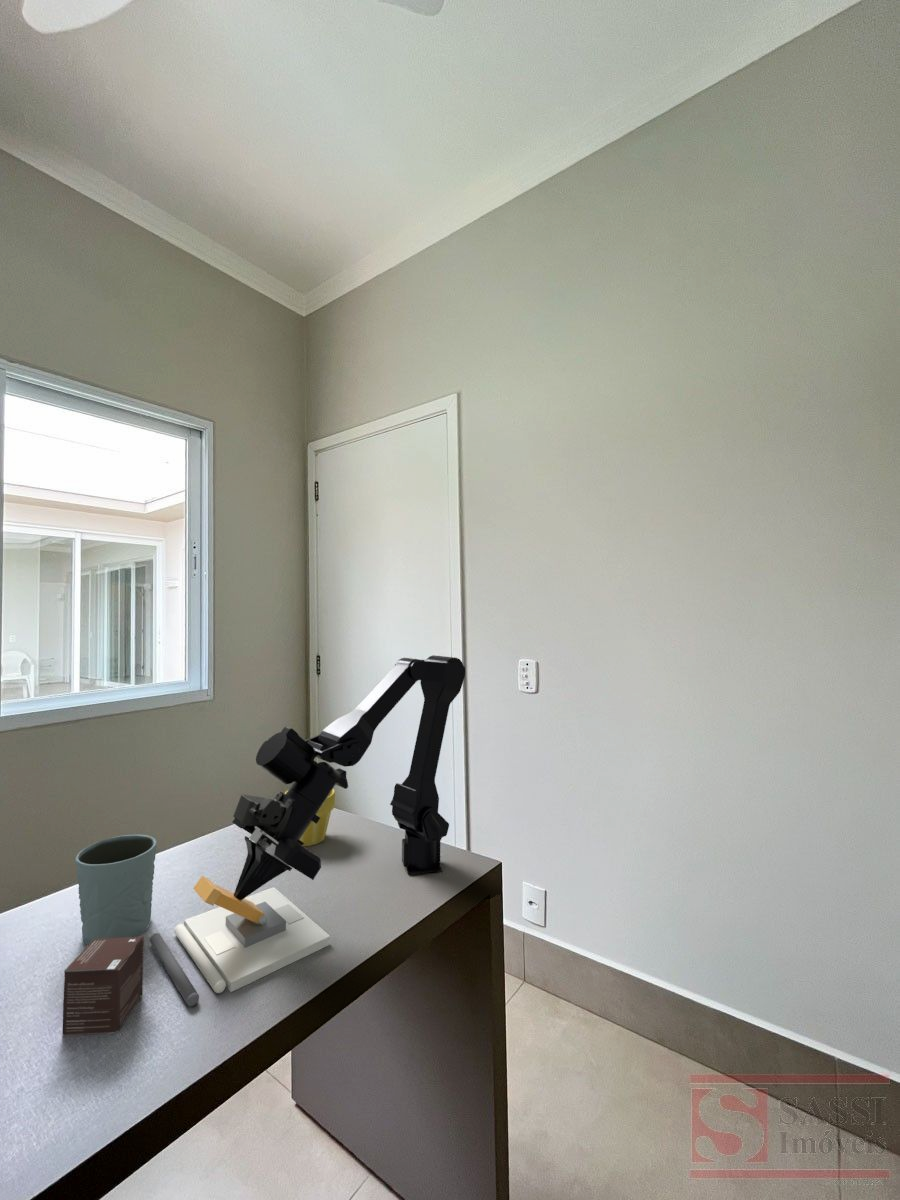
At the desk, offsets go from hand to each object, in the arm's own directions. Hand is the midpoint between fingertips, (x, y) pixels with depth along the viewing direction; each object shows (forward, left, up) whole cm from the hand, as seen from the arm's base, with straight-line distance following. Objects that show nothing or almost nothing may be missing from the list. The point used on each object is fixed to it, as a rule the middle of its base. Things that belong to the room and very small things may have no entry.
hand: (236, 898), depth 75 cm
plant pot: (-9, -33, -7) cm, 35 cm away
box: (+13, +11, -7) cm, 18 cm away
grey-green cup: (+18, -7, -7) cm, 20 cm away
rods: (+6, +3, -7) cm, 9 cm away
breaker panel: (-2, -1, -7) cm, 7 cm away
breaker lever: (-2, -1, -3) cm, 4 cm away
